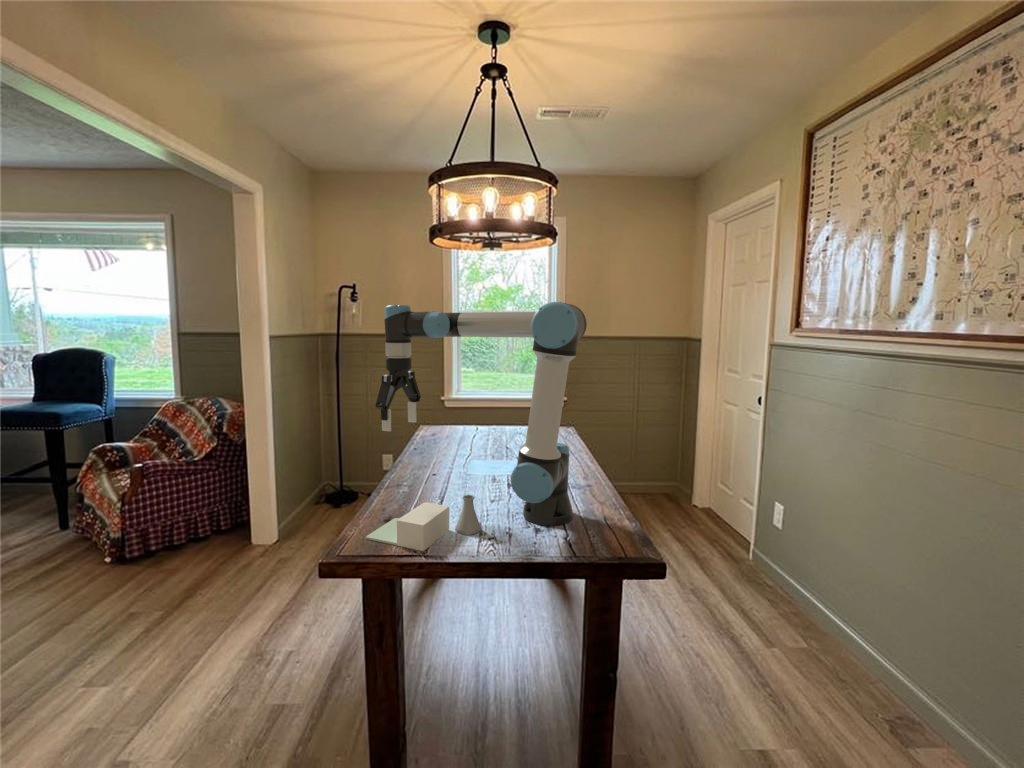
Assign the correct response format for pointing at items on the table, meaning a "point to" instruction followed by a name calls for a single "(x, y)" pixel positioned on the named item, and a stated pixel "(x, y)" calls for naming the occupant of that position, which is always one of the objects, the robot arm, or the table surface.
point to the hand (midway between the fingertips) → (400, 426)
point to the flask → (468, 518)
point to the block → (422, 526)
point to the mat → (385, 533)
